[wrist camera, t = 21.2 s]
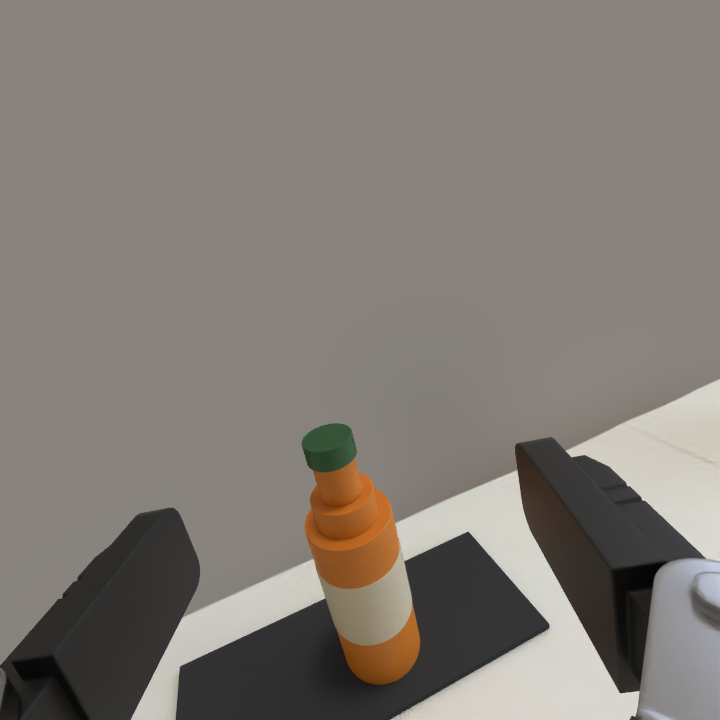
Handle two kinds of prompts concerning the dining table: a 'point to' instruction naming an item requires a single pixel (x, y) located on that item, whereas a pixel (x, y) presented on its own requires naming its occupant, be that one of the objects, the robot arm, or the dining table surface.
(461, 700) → the dining table surface
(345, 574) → the juice bottle
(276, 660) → the front mat
